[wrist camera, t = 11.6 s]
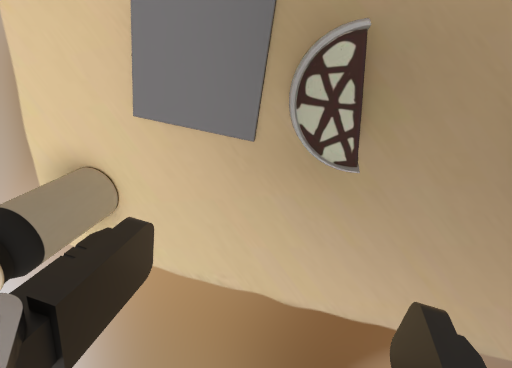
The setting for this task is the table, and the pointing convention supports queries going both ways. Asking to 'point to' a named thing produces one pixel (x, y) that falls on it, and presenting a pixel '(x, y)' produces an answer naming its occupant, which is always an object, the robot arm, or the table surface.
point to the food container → (331, 96)
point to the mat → (201, 62)
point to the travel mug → (51, 219)
